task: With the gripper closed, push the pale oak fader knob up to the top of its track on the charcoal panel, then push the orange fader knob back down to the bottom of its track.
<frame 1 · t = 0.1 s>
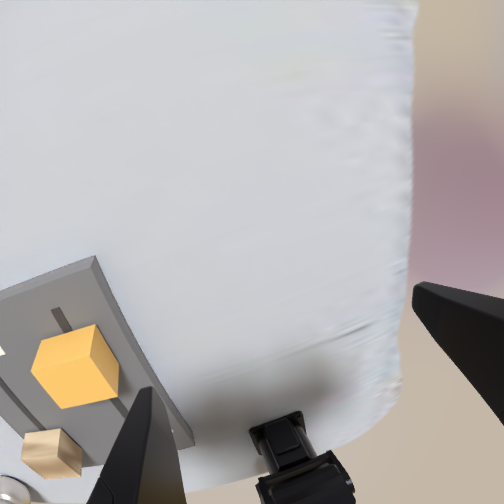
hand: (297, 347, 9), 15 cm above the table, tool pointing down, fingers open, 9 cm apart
fader panel: (66, 387, 24), on the table
oak fader: (51, 455, 22), point 4 cm above the table, slide at -5.0 cm
plastic bottle: (13, 480, 28), on the table
orange fader: (76, 368, 19), point 4 cm above the table, slide at 5.0 cm
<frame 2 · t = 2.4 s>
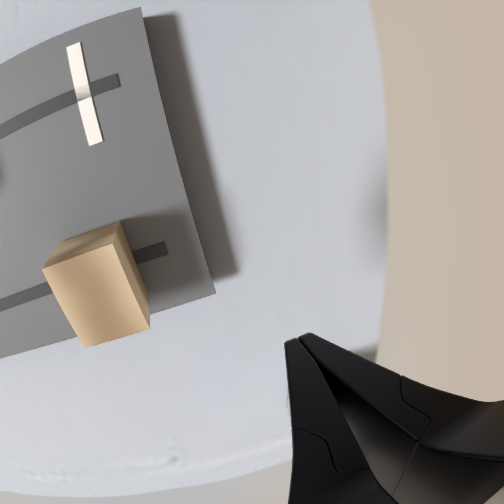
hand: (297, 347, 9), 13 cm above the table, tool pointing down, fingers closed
fader panel: (18, 210, 17), on the table
oak fader: (100, 284, 16), point 4 cm above the table, slide at -5.0 cm
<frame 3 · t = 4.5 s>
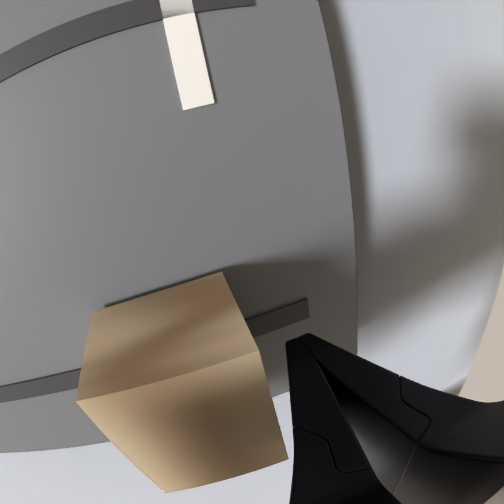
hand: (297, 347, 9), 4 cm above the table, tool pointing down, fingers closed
fader panel: (17, 234, 9), on the table
oak fader: (189, 394, 8), point 4 cm above the table, slide at -4.5 cm, touching gripper
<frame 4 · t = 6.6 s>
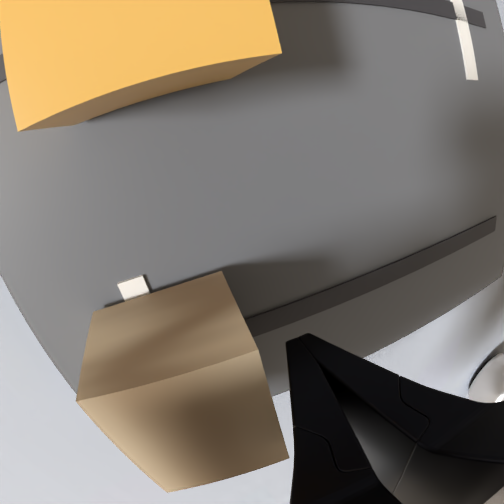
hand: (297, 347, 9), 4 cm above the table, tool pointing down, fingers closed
fader panel: (313, 141, 11), on the table
oak fader: (190, 393, 8), point 4 cm above the table, slide at 6.4 cm, touching gripper
plastic bottle: (481, 370, 25), on the table
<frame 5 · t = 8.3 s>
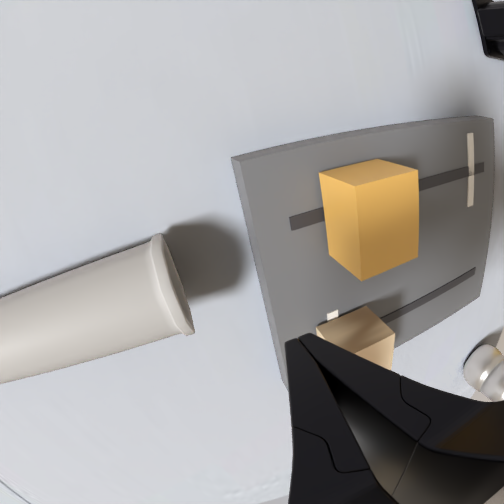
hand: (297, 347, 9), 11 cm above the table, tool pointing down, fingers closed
tube: (14, 319, 17), on the table
fader panel: (395, 243, 23), on the table
oak fader: (355, 356, 21), point 4 cm above the table, slide at 6.4 cm
plastic bottle: (471, 356, 37), on the table
orange fader: (371, 215, 17), point 4 cm above the table, slide at 5.0 cm
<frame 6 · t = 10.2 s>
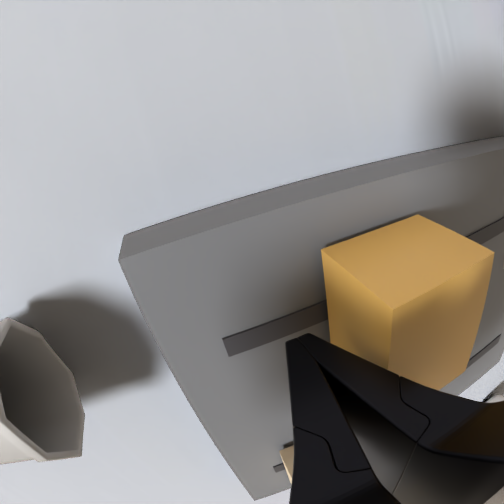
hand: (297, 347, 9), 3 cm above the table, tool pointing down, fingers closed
fader panel: (401, 325, 16), on the table
oak fader: (332, 479, 13), point 4 cm above the table, slide at 6.4 cm
orange fader: (405, 318, 9), point 4 cm above the table, slide at 3.4 cm, touching gripper
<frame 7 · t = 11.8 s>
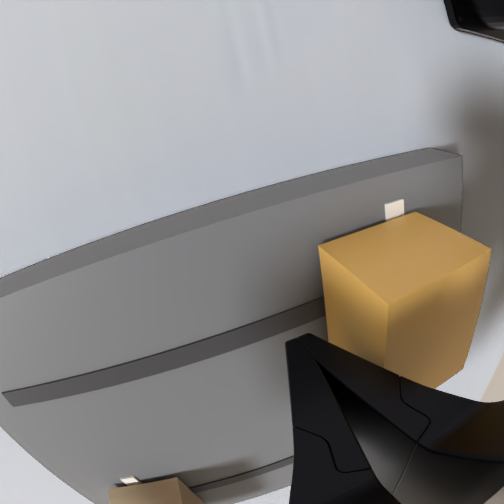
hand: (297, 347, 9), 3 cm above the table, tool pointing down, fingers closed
fader panel: (237, 392, 14), on the table
orange fader: (402, 315, 10), point 4 cm above the table, slide at -5.8 cm, touching gripper
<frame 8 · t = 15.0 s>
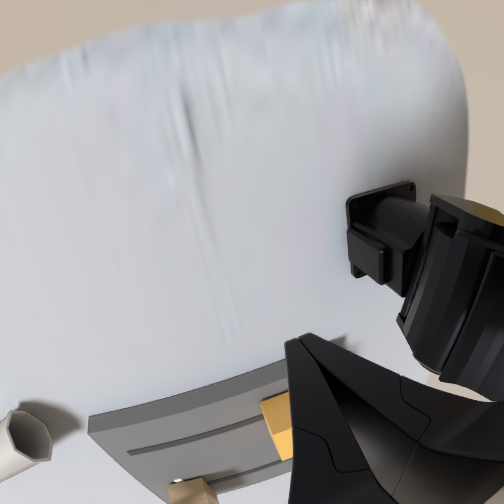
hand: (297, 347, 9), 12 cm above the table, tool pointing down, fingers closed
fader panel: (230, 439, 29), on the table
oak fader: (195, 502, 26), point 4 cm above the table, slide at 6.4 cm
orange fader: (293, 424, 24), point 4 cm above the table, slide at -5.9 cm
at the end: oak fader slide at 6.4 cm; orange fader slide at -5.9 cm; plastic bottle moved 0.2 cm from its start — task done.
